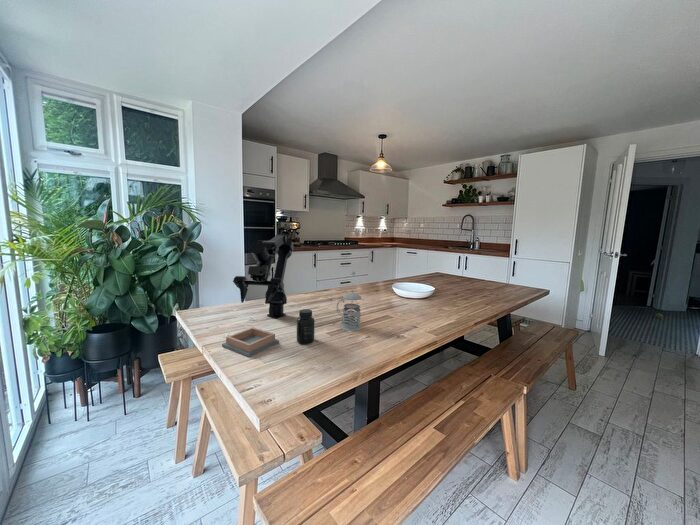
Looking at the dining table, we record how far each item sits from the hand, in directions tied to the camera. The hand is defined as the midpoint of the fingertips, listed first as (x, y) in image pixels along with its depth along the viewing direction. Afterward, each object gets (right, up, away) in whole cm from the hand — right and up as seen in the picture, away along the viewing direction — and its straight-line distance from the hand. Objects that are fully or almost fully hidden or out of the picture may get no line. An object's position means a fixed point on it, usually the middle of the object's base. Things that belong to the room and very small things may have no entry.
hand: (253, 303), depth 108 cm
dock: (0, -15, -3) cm, 15 cm away
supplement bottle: (+19, -15, +2) cm, 25 cm away
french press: (+36, -13, +19) cm, 43 cm away
